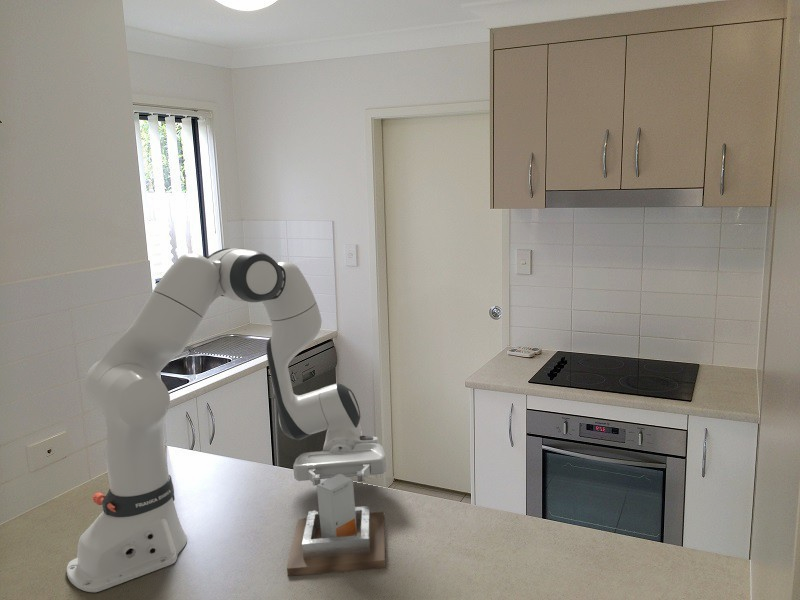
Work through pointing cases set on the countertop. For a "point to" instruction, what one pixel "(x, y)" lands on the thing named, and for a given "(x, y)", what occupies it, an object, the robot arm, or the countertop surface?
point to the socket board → (338, 545)
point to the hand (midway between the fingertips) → (338, 480)
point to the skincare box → (337, 507)
